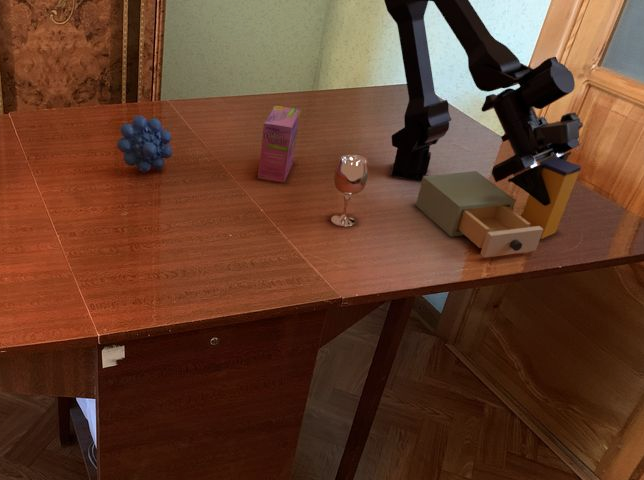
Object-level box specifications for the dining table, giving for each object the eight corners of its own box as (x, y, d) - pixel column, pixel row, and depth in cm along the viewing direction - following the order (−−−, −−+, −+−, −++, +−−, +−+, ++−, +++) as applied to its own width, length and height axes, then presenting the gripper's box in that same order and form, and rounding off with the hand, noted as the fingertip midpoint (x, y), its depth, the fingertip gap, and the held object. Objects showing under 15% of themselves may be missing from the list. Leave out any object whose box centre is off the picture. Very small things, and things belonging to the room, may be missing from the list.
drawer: (540, 254, 131) (548, 232, 129) (488, 261, 129) (495, 239, 126) (497, 220, 141) (504, 199, 138) (448, 226, 138) (454, 204, 136)
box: (284, 183, 153) (292, 126, 146) (257, 179, 154) (263, 122, 147) (293, 163, 161) (301, 108, 153) (267, 159, 162) (273, 105, 155)
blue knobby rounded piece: (124, 184, 150) (122, 126, 143) (114, 170, 155) (112, 113, 148) (178, 177, 154) (180, 119, 146) (167, 163, 159) (168, 107, 151)
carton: (540, 239, 137) (566, 172, 129) (516, 228, 140) (540, 162, 132) (555, 233, 139) (581, 166, 132) (531, 222, 143) (555, 156, 135)
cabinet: (505, 230, 140) (515, 200, 136) (450, 236, 137) (459, 206, 133) (468, 199, 149) (476, 170, 146) (415, 205, 147) (422, 176, 143)
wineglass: (360, 216, 142) (372, 156, 135) (356, 230, 138) (368, 169, 131) (330, 211, 144) (340, 151, 136) (324, 224, 139) (334, 163, 132)
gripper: (528, 110, 123) (567, 197, 123) (588, 89, 133) (625, 169, 132) (474, 140, 133) (511, 221, 133) (533, 119, 142) (568, 194, 142)
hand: (555, 200), depth 135 cm, fingers closed on carton, 5 cm apart
